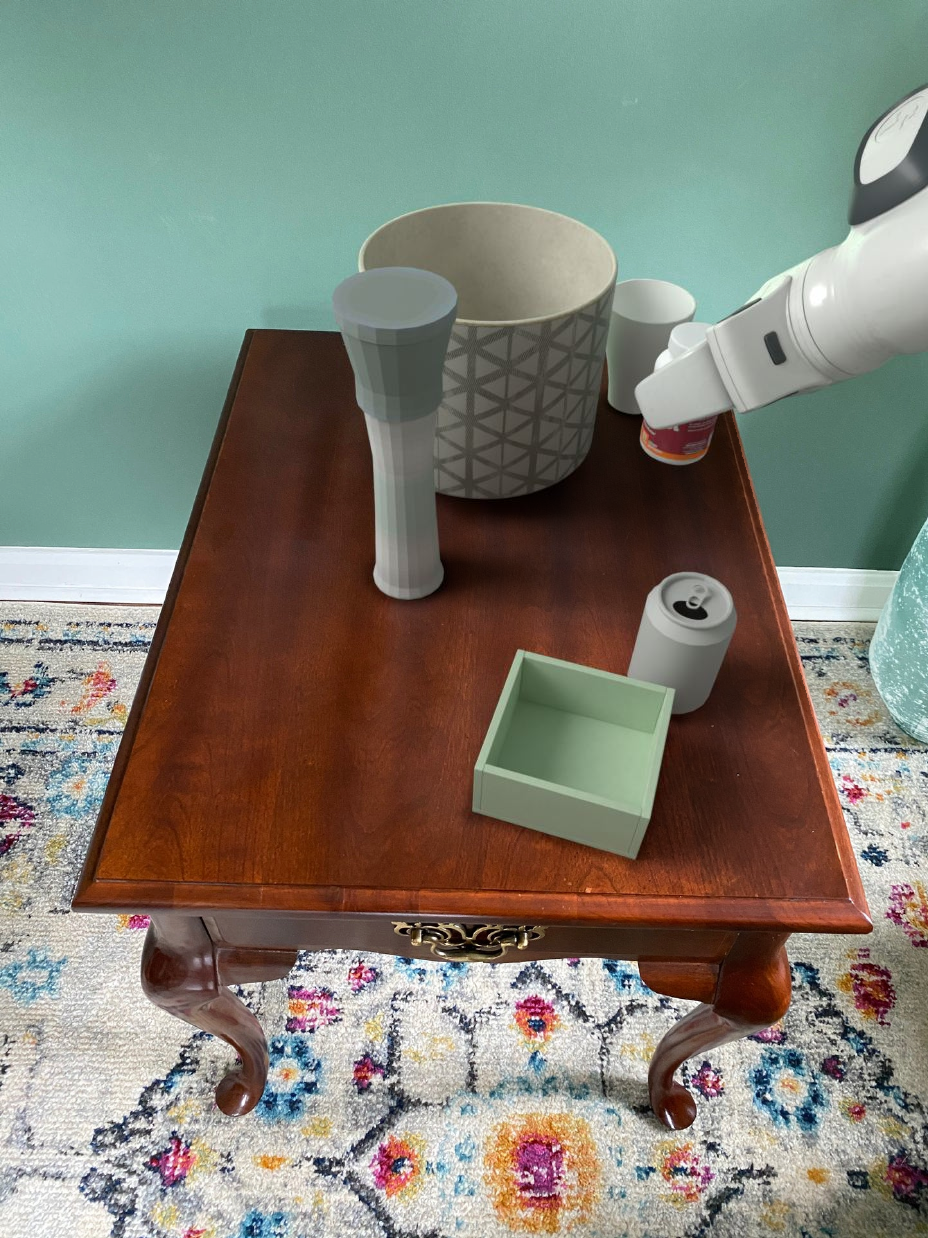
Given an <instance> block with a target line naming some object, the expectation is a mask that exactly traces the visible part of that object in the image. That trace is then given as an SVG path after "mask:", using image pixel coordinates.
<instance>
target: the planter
mask: <svg viewBox="0 0 928 1238" xmlns="http://www.w3.org/2000/svg"><path fill="white" fill-rule="evenodd" d="M385 267H409V268H416V269H421V270H425V271H430V272H432V273H434V274H437V275H439V276H441V277H443V278H445V279H446V280H447V281H448V282H450V283H451V284H452V285H453V286H454V288H455V290H456V293H457V295H458V305H457V316H456V321H455V322H454V323H453V326H452V331H451V335H450V340H449V344H448V349H447V353H446V357H445V362H444V366H443V371H442V377H443V398H442V403H441V404H440V406H439V407H438V409H437V419H436V430H435V440H434V451H433V464H434V483H435V493H437V494H442V495H446V496H450V497H455V498H463V499H473V500H499V499H509V498H515V497H521V496H525V495H529V494H533V493H536V492H540V491H542V490H544V489H547V488H549V487H551V486H554V485H555V484H558V483H559V482H562V481H563V480H564V479H566V478H567V477H569V476H570V475H571V474H572V473H574V472H575V471H576V470H577V469H578V468H579V467H580V466H581V464H582V463H583V462H584V460H585V459H586V458H587V456H588V454H589V451H590V449H591V446H592V441H593V436H594V429H595V423H596V416H597V409H598V404H599V403H598V402H599V398H600V397H599V396H600V390H601V384H602V378H603V370H604V364H605V358H606V345H607V339H608V332H609V326H610V319H611V313H612V306H613V300H614V293H615V287H616V284H617V279H618V274H619V273H618V272H619V262H618V258H617V255H616V252H615V250H614V248H613V247H612V245H611V244H610V243H609V242H608V241H607V239H605V238H604V237H603V236H602V235H601V234H600V233H598V232H597V231H596V230H595V229H593V228H592V227H590V226H589V225H587V224H585V223H583V222H581V221H579V220H576V218H575V219H574V218H572V217H570V216H567V215H565V214H562V213H559V212H555V211H553V210H549V209H545V208H541V207H538V206H537V207H536V206H533V205H527V204H519V203H511V202H499V201H465V202H455V203H454V202H453V203H445V204H439V205H434V206H428V207H424V208H421V209H417V210H414V211H411V212H407V213H405V214H402V215H400V216H398V217H395V218H393V219H391V220H389V221H387V222H385V223H384V224H382V225H381V226H380V227H378V228H377V229H376V230H374V231H373V232H372V233H371V234H370V235H369V236H368V237H367V238H366V240H365V241H364V242H363V244H362V246H361V248H360V250H359V254H358V273H360V272H364V271H367V270H371V269H375V268H385Z"/></svg>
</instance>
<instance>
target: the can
mask: <svg viewBox="0 0 928 1238" xmlns="http://www.w3.org/2000/svg"><path fill="white" fill-rule="evenodd" d="M644 605H645V606H644V609H643V613H642V617H641V621H640V624H639V628H638V632H637V636H636V640H635V644H634V646H633V647H634V648H633V652H632V655H631V659H630V662H629V667H628V670H627V674H626V675H627V677H630V678H633V679H637V680H641V681H645V682H649V683H653V684H657V685H661V686H665V687H667V688H668V687H669V688H673V689H675V690H676V691H675V696H674V701H673V706H672V711H671V715H684V714H687V713H691V712H694V711H696V710H697V709H699V708H700V707H702V706H703V705H704V704H705V703H706V701H707V700H708V698H709V697H710V694H711V692H712V689H713V687H714V685H715V681H716V679H717V676H718V673H719V671H720V668H721V667H722V664H723V661H724V658H725V656H726V653H727V650H728V648H729V647H730V643H731V641H732V638H733V636H734V633H735V630H736V627H737V623H738V622H737V621H738V615H737V610H736V607H735V603H734V598H733V596H732V594H731V592H730V591H729V589H728V588H727V587H726V585H724V584H723V583H722V582H721V581H719V580H717V579H715V578H714V577H711V576H709V575H708V574H703V573H699V572H695V571H682V572H681V571H680V572H677V573H672V574H670V575H669V576H667V577H665V578H664V579H662V581H661V582H660V583H658V584H657V585H656V586H654V587H653V588H652V590H651V591H650V592H649V594H647V597H646V602H645V604H644Z"/></svg>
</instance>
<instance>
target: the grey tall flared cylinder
mask: <svg viewBox="0 0 928 1238" xmlns="http://www.w3.org/2000/svg"><path fill="white" fill-rule="evenodd" d="M331 304H332V311H333V318H334V321H335V324H336V326H337V327H338V328H339V331H340V334H341V338H342V340H343V344H344V346H345V350H346V353H347V355H348V358H349V361H350V364H351V367H352V370H353V373H354V383H355V384H354V385H355V398H356V402H357V405H358V407H359V408H360V409H361V410H362V412H363V414H364V419H365V424H366V428H367V435H368V440H369V444H370V449H371V454H372V465H373V466H372V468H373V489H374V490H373V491H374V516H375V517H374V518H375V519H374V521H375V526H374V527H375V565H374V567H373V572H372V575H373V579H374V584H375V585H376V587H377V588H378V589H379V591H381V592H382V593H383V594H385V595H387V596H388V597H392V598H395V599H397V600H407V601H408V600H409V601H410V600H411V601H412V600H417V599H422V598H425V597H427V596H429V595H432V593H434V592H435V591H436V590H437V589H439V588H440V586H441V584H442V582H443V580H444V573H445V571H444V570H445V569H444V566H443V564H442V563H443V562H441V553H440V541H439V530H438V518H437V504H436V503H437V502H436V492H435V483H434V464H433V451H434V440H435V430H436V419H437V409H438V407H439V406H440V404H441V403H442V398H443V377H442V371H443V366H444V362H445V357H446V353H447V349H448V344H449V340H450V335H451V331H452V326H453V323H454V322H455V321H456V316H457V305H458V295H457V293H456V290H455V288H454V286H453V285H452V284H451V283H450V282H448V281H447V280H446V279H445V278H443V277H441V276H439V275H437V274H434V273H432V272H430V271H425V270H421V269H416V268H409V267H385V268H375V269H371V270H367V271H364V272H360V273H359V272H357V273H355V274H352V275H350V276H349V277H347V278H344V280H343V281H341V282H340V283H339V284H338V285H337V286H336V287H335V288H334V291H333V294H332V296H331Z"/></svg>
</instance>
